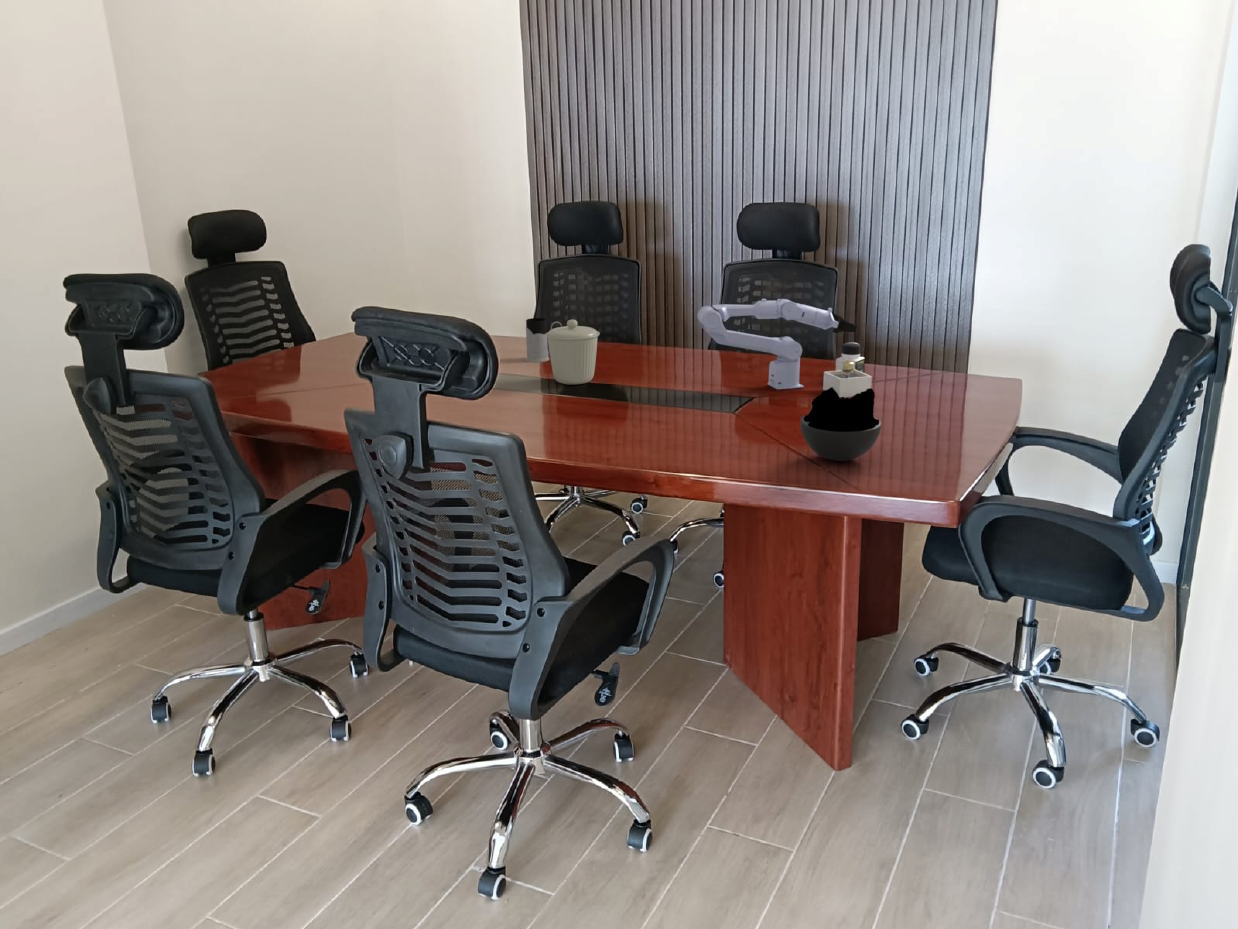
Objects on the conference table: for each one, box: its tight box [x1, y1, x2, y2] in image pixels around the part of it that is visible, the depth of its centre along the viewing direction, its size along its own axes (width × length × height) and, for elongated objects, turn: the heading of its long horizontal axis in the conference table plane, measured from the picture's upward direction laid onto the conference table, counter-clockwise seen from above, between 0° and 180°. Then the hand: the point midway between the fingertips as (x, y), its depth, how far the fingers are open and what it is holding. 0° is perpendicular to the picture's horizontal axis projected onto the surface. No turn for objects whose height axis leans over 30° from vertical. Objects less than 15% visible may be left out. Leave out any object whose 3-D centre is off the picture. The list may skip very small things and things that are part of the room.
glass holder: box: [525, 317, 563, 363], centre depth 374 cm, size 9×14×15 cm, turn 107°
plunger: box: [834, 361, 860, 379], centre depth 319 cm, size 9×9×6 cm
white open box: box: [822, 369, 873, 398], centre depth 320 cm, size 11×11×6 cm
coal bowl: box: [799, 387, 882, 462], centre depth 252 cm, size 20×20×19 cm
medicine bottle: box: [835, 342, 866, 373], centre depth 337 cm, size 7×7×12 cm
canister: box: [545, 319, 601, 385], centre depth 338 cm, size 18×18×21 cm
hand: (851, 326), depth 326 cm, fingers open, 7 cm apart
